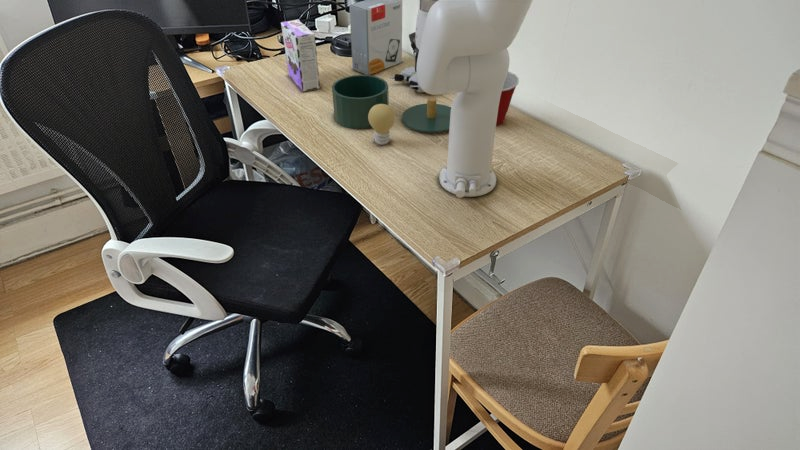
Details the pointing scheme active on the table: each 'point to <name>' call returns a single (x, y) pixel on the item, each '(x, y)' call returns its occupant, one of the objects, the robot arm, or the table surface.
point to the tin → (358, 99)
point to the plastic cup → (506, 96)
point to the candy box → (301, 54)
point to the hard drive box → (376, 35)
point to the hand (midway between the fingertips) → (433, 75)
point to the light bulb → (381, 122)
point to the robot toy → (408, 78)
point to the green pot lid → (428, 117)
